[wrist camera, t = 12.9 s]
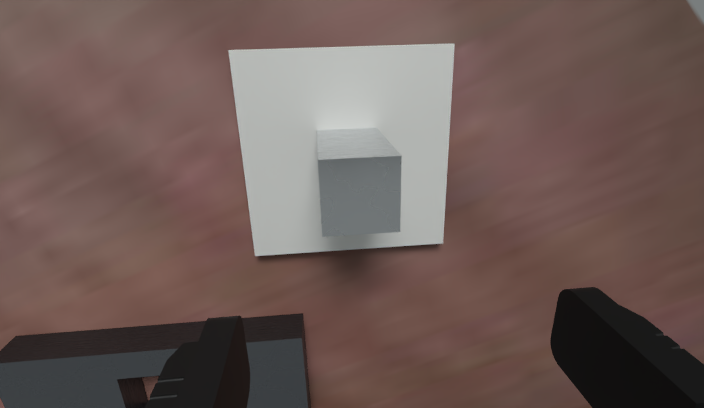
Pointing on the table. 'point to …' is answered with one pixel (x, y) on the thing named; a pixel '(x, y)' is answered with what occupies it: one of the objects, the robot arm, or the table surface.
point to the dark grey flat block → (145, 364)
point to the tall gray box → (358, 182)
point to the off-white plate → (341, 113)
